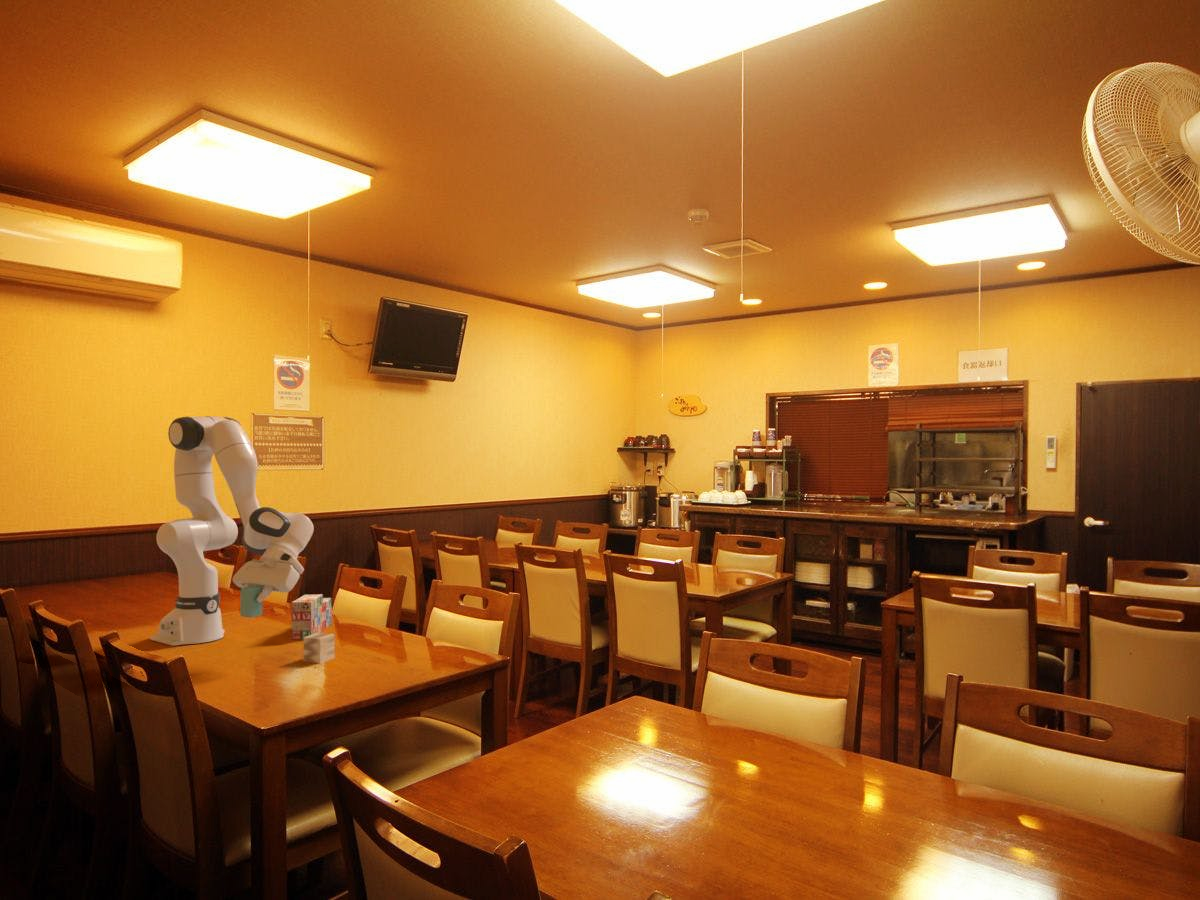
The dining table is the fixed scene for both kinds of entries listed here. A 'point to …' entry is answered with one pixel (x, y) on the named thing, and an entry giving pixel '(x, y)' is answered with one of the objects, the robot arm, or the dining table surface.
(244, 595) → the pillar
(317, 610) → the multicoloured boxy piece
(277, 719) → the dining table surface
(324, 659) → the tower base
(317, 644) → the tower top
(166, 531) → the robot arm
